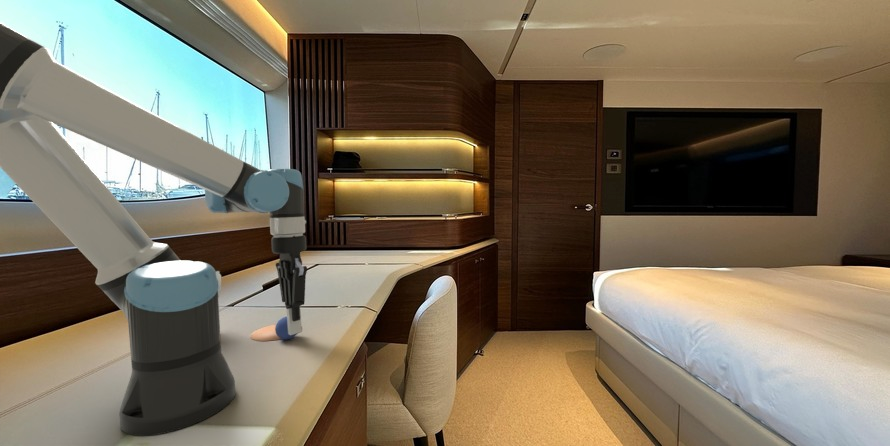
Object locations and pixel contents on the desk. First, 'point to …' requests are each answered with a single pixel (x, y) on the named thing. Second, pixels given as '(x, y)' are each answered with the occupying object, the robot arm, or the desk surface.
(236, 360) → the desk surface
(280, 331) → the ball
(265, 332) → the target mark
